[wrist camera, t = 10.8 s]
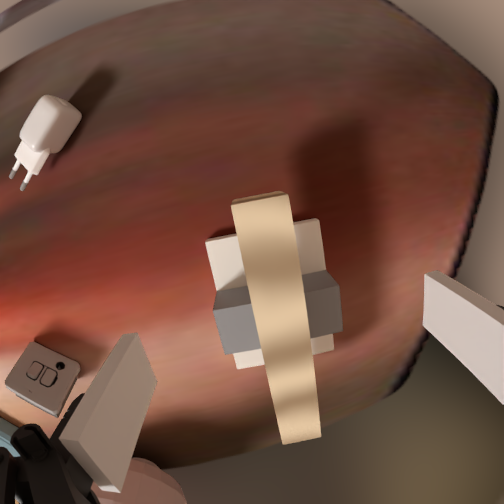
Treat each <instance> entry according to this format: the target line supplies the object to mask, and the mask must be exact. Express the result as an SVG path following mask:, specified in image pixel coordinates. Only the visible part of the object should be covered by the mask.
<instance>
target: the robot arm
mask: <svg viewBox="0 0 504 504" xmlns="http://www.w3.org/2000/svg"><path fill="white" fill-rule="evenodd" d="M423 326H424V327H425V328H426V329H427V330H428V331H429V332H430V333H431V334H432V335H434V336H435V337H436V338H437V339H438V340H439V341H440V342H441V343H442V344H443V345H444V346H445V347H446V348H447V349H448V350H449V351H450V352H452V354H454V355H455V356H456V357H457V358H458V359H459V360H460V361H461V362H462V363H463V364H464V365H465V366H466V367H467V368H468V369H469V370H470V371H471V372H472V373H473V374H474V375H475V376H476V377H477V378H478V379H479V380H480V381H481V382H482V383H483V384H484V385H485V386H486V387H487V388H488V389H489V390H490V391H491V392H492V393H493V395H495V397H497V399H498V400H499V401H500V402H501V403H502V404H504V307H502V306H499V305H495V304H493V303H492V302H490V301H489V300H487V299H485V298H484V297H482V296H481V295H479V294H477V293H476V292H474V291H472V290H471V289H469V288H467V287H465V286H464V285H462V284H460V283H459V282H457V281H455V280H454V279H452V278H450V277H448V276H447V275H445V274H443V273H441V272H440V271H438V270H436V271H432V272H429V273H425V281H424V314H423ZM156 384H157V379H156V377H155V375H154V372H153V370H152V368H151V365H150V363H149V360H148V358H147V356H146V353H145V351H144V348H143V346H142V343H141V340H140V338H139V335H138V333H130V334H123V335H122V336H121V338H120V339H119V341H118V342H117V344H116V345H115V347H114V348H113V350H112V352H111V353H110V355H109V356H108V358H107V359H106V361H105V362H104V364H103V366H102V367H101V369H100V370H99V372H98V373H97V375H96V377H95V378H94V380H93V381H92V383H91V385H90V386H89V388H88V390H87V391H86V393H82V394H80V395H79V396H78V397H77V398H76V399H75V400H74V401H73V402H72V403H71V405H70V406H69V408H68V410H67V411H68V412H66V413H65V415H64V416H63V419H61V421H60V423H59V424H58V426H57V428H56V429H55V431H54V433H53V434H52V436H51V438H50V440H49V438H48V437H47V436H46V434H45V433H44V432H43V430H42V429H41V427H40V426H39V425H37V424H26V425H23V426H21V427H20V428H18V429H17V430H16V431H15V432H14V433H13V435H12V437H11V440H10V443H11V445H12V446H13V447H14V449H15V450H16V451H17V452H18V453H19V455H20V456H17V457H13V455H12V454H11V453H10V452H9V451H8V449H7V448H5V447H0V504H15V499H16V500H17V501H18V502H19V504H100V502H99V500H98V498H97V496H96V494H95V493H94V492H93V490H92V489H91V486H92V484H93V481H94V482H95V483H96V484H97V486H98V487H99V488H100V489H101V490H103V491H110V492H117V493H121V491H122V487H123V484H124V481H125V477H126V474H127V471H128V468H129V465H130V461H131V458H132V455H133V452H134V449H135V446H136V443H137V440H138V437H139V434H140V431H141V427H142V425H143V422H144V419H145V416H146V413H147V410H148V407H149V404H150V401H151V398H152V395H153V392H154V390H155V387H156Z"/></svg>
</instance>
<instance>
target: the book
mask: <svg viewBox="0 0 504 504" xmlns="http://www.w3.org/2000/svg"><path fill="white" fill-rule="evenodd" d="M17 429H18V427H16V426H15V425H13V424H11V423H10V422H8V421H6V420H5V419H3V418H1V417H0V447H5V448H7V449H8V451H9V452H10V453H11V454H12V455H13V457H17V456H20V455H19V453H18V452H17V451H16V450H15V449H14V447H13V446H12V445H11V443H10V440H11V437H12V435H13V433H14V432H15V431H16V430H17Z"/></svg>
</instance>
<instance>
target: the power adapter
mask: <svg viewBox="0 0 504 504" xmlns="http://www.w3.org/2000/svg"><path fill="white" fill-rule="evenodd" d="M81 117H82V115H81V113H80V112H79V111H78V110H77V109H76V108H75V107H74V106H73V105H71V104H70V103H69V102H67V101H65V100H63V99H60V98H57V97H55V96H51V95H44V96H42V97H41V98H40V99H39V101H38V102H37V104H36V105H35V107H34V108H33V110H32V111H31V113H30V115H29V116H28V118H27V120H26V122H25V123H24V125H23V127H22V129H21V131H20V138H21V140H22V141H21V143H20V145H19V147H18V149H17V151H16V153H15V157H16V158H17V161H16V163H15V165H14V167H13V169H12V171H11V173H10V175H9V177H10V179H13V178H14V176H15V174H16V172H17V169H18V167H19V165H20V164H21V163H22V165H23V166H24V167H25V168H26V169H27V170H28V173H27V175H26V177H25V179H24V181H23V183H22V185H21V187H20V190H21V191H24V190H25V188H26V186H27V184H28V182H29V180H30V178H31V176H32V175H33V174H35V175H38V174H39V172H40V170H41V168H42V166H43V165H44V163H45V161H46V159H47V158H48V156H49V154H50V153H58V152H59V151H60V150H61V149H62V148H63V147H64V145H65V144H66V142H67V141H68V139H69V137H70V136H71V134H72V133H73V131H74V130H75V128H76V127H77V125H78V124H79V122H80V121H81Z"/></svg>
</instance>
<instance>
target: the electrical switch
mask: <svg viewBox="0 0 504 504" xmlns="http://www.w3.org/2000/svg"><path fill="white" fill-rule="evenodd" d="M79 372H80V366H79V363H78V362H76V361H74V360H71V359H69V358H67V357H65V356H62V355H60V354H58V353H56V352H54V351H52V350H50V349H48V348H46V347H44V346H42V345H40V344H38V343H36V342H30V343H29V345H28V346H27V348H26V349H25V351H24V352H23V354H22V355H21V357H20V358H19V360H18V361H17V363H16V364H15V366H14V367H13V369H12V370H11V372H10V373H9V375H8V377H7V378H6V380H5V385H6V388H7V389H9V390H10V391H12V392H14V393H15V394H16V396H18V397H20V398H21V399H23V400H25V401H26V402H28V403H30V404H32V405H34V406H35V407H37V408H39V409H41V410H43V411H45V412H47V413H49V414H51V415H52V416H54V417H56V418H58V417H59V415H60V413H61V411H62V409H63V407H64V405H65V403H66V400H67V398H68V396H69V394H70V392H71V390H72V388H73V386H74V384H75V382H76V380H77V377H76V376H77V375H78V373H79Z"/></svg>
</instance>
